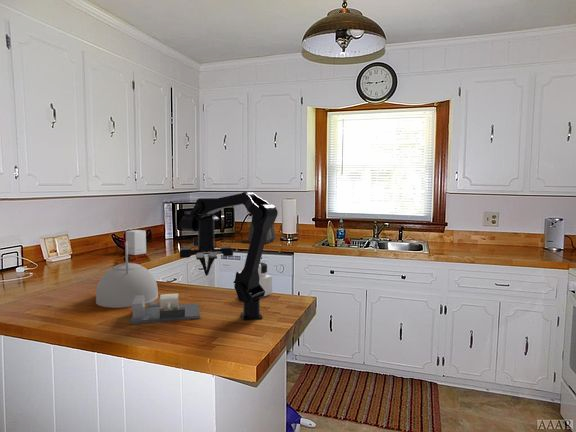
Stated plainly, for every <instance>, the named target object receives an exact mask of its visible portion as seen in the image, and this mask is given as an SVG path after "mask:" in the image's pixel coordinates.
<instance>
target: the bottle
mask: <svg viewBox="0 0 576 432" xmlns="http://www.w3.org/2000/svg"><path fill="white" fill-rule="evenodd" d="M274 225H275V223H274V224H273V225H272V227H271V228H270V229H269V231H268V233H267V237H266V241H265V243H267V244H269V243H268V242H270V243H272V242H273V241H275V239H276V238H277V236H276V232H275V231H276V230H275V226H274ZM248 230H249V231H248V236H247V241H249V243H250V242H251V238H252V234H253V224H252V220H251V221H250V225H249V229H248Z"/></svg>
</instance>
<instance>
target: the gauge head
mask: <svg viewBox="0 0 576 432" xmlns="http://www.w3.org/2000/svg"><path fill="white" fill-rule="evenodd" d="M179 305H180V304H179V293H165V294H160V296H159V301H152V302H149V303H147V307H160V309H164V308H167V307H168V309H169V308H170V307H172V308H178V307H179Z"/></svg>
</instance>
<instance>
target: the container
mask: <svg viewBox="0 0 576 432" xmlns="http://www.w3.org/2000/svg"><path fill="white" fill-rule="evenodd" d="M258 273H259V277H260V278H259V284H260V285H261V287H262V288H263V289H264V291H265V294H264V297H266V296H269V295H272V293H273V275H271V274H270V275H269V274H268V264H267V263H265V262H261V261H260V264H259V268H258ZM250 294H252V293H250Z"/></svg>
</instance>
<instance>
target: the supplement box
mask: <svg viewBox="0 0 576 432" xmlns="http://www.w3.org/2000/svg"><path fill="white" fill-rule="evenodd" d="M146 237H147V231H146V230H140V229H132V230H125V242H128V255H132V256H138V255H145V254H147V238H146Z"/></svg>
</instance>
